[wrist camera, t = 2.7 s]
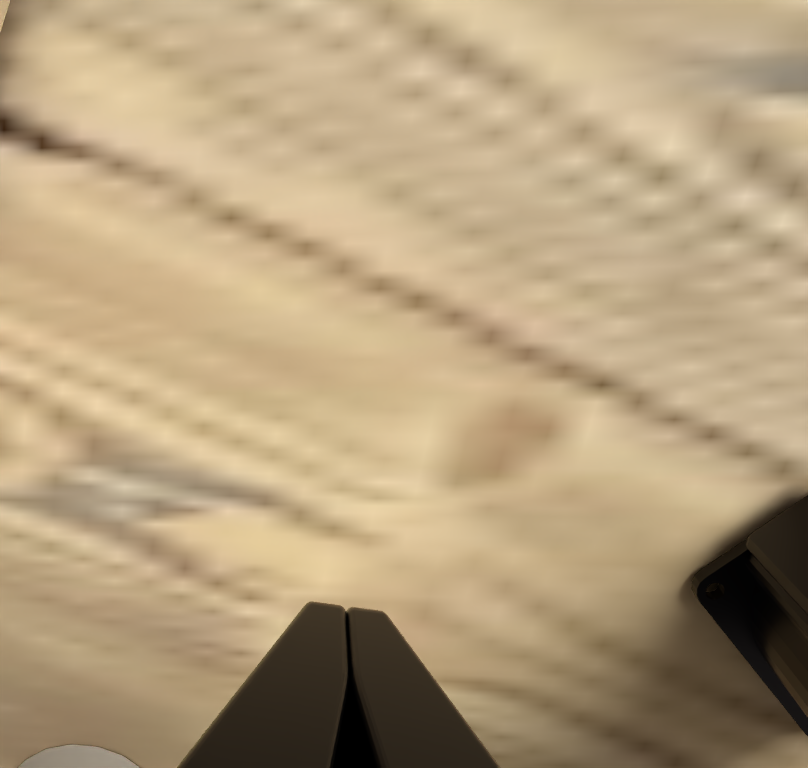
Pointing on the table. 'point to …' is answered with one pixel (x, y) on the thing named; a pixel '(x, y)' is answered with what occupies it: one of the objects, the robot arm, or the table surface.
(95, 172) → the table surface
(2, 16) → the gate
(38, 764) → the chalice
